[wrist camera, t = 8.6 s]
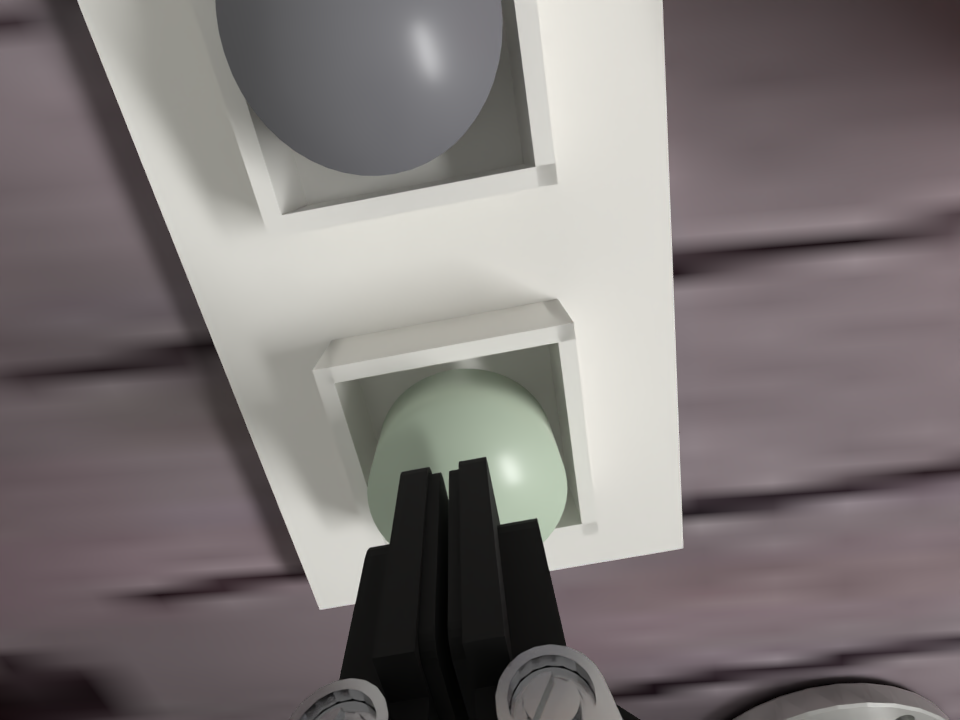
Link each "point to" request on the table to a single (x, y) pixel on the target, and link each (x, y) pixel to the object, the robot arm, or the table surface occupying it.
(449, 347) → the button board
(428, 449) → the sage button
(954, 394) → the table surface
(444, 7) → the charcoal button
